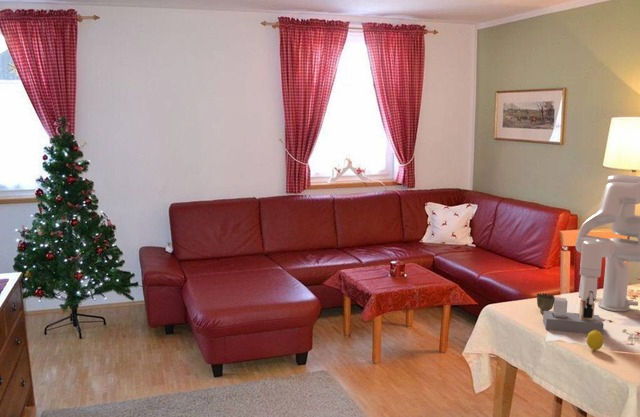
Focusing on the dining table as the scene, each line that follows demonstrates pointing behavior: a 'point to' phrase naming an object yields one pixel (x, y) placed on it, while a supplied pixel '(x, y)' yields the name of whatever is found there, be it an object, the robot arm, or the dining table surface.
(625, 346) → the dining table surface
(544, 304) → the cup
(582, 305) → the birch plug
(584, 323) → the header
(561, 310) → the metal plug
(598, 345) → the lemon
